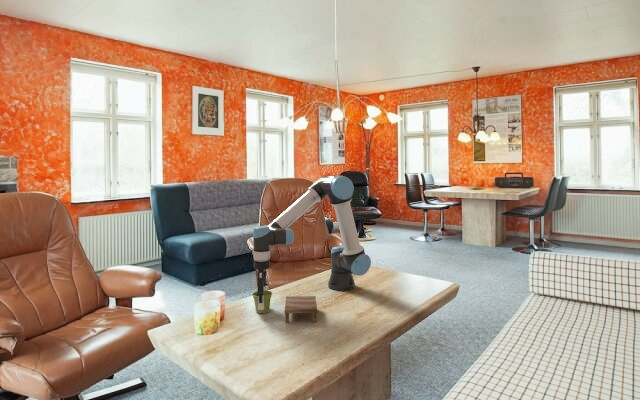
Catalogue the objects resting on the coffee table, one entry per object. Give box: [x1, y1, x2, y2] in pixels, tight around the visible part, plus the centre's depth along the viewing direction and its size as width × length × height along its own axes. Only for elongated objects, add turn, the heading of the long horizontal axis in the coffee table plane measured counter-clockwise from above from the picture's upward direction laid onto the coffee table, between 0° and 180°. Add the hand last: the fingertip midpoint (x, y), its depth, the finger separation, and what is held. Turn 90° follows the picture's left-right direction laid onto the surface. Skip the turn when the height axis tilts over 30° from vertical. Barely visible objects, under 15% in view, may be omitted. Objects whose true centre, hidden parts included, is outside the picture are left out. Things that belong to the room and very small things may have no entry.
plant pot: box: [251, 290, 273, 314], centre depth 187 cm, size 9×9×9 cm
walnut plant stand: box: [284, 295, 318, 324], centre depth 182 cm, size 18×14×6 cm
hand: (262, 304), depth 187 cm, fingers open, 13 cm apart
